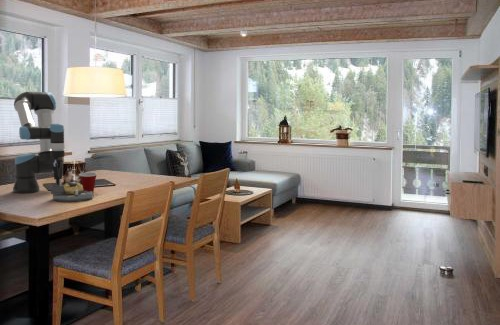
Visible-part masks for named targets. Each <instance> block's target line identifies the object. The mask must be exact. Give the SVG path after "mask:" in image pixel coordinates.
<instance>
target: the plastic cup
mask: <svg viewBox="0 0 500 325" xmlns="http://www.w3.org/2000/svg"><path fill="white" fill-rule="evenodd" d="M78 175H79V177H80V181H81V182H80V183H81V185H83V190H88V191H92V192H93V193H94V191H95V185H96V178H97V176H98V173H97V172H91V171H89V172H88V171H87V172H86V171H85V172H81V173H79V174H78Z"/></svg>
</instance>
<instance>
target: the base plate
mask: <svg viewBox="0 0 500 325" xmlns="http://www.w3.org/2000/svg"><path fill="white" fill-rule="evenodd" d="M93 198H94V191H93V192H92V191H88V190H83V193H81V194H78V190H75V194H52V200H53V201H54V202H58V203H75V202H76V203H77V202H85V201H90V200H92V199H93Z"/></svg>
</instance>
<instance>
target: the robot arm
mask: <svg viewBox="0 0 500 325" xmlns="http://www.w3.org/2000/svg"><path fill="white" fill-rule="evenodd" d="M13 106H14V110H15V111H16V113H17V115H18V119H19V123H20V127H19V130H18V131H19V132H18V133H19V134H18V135H19V138H20V140H27V141H28V140H39V148H40V150H39V152H38V155H37V154H36V153H24V154H23V153H22V154H18V155H16V156H15V158H14V168H15V181H14V183H13V187H12V192H13V193H15V194H30V193H36V192H39V191H40V190H41V189H40V185H39V182H38V180H37V175H39V174H40V175H41V174H42V175H43V174H44V175H45V174H53V179H54V180H55V186H58V185H62V179H63V178H64V177H63V176H64V175H63V173H64V172H63V171H64V170H63V169H64V161H63V159H62V158H65V154H66V153H65V128H64V124H63V123H53V116H52V115H53V113H55V112H54V111H56V108H57V103H56V98H55V96H54V94H53V93H52V92H50V91H49V92H48V91H47V92H46V91H24V92H21V93H19V95H17V96H16V98H15V99H14V102H13ZM32 111H34V114H35V115H36V116H37V126H36V123H35V120H34V117H33V113H32Z"/></svg>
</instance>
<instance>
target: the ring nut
mask: <svg viewBox="0 0 500 325" xmlns="http://www.w3.org/2000/svg"><path fill="white" fill-rule="evenodd" d="M75 190H78V194H81V193H83V185H82V184H81V182H77V181H70V182H68V183H64V185H62V184H61V185H58V186H56V185H50V195H53V194H75Z"/></svg>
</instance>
